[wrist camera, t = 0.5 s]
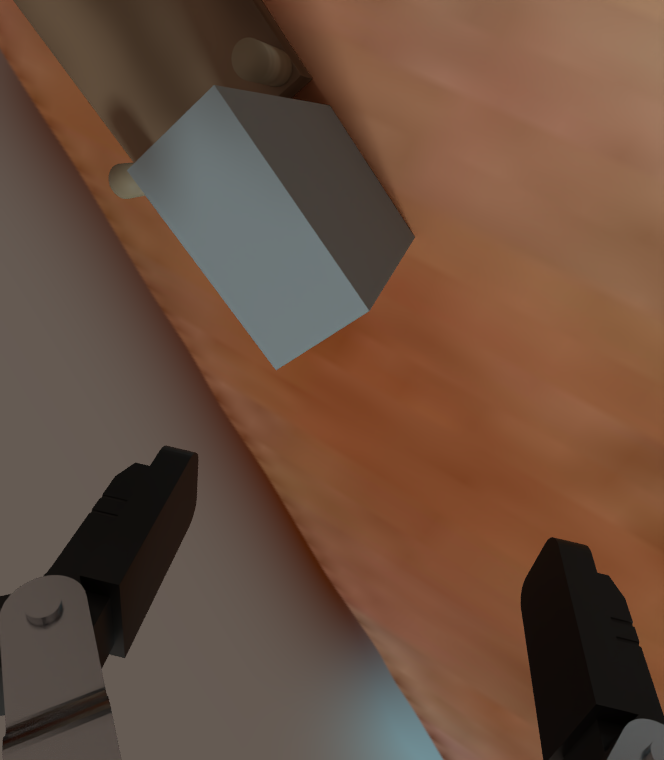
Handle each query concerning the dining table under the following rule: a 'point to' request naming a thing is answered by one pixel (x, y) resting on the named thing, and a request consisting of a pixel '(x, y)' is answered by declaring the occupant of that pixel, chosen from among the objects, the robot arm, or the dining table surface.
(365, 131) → the dining table surface
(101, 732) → the robot arm
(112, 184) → the peg stand
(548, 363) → the dining table surface
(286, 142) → the rectangular block
